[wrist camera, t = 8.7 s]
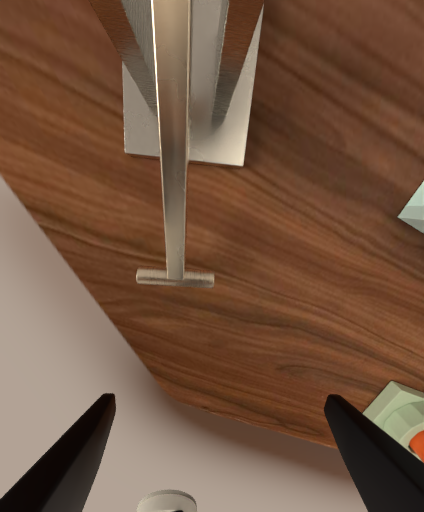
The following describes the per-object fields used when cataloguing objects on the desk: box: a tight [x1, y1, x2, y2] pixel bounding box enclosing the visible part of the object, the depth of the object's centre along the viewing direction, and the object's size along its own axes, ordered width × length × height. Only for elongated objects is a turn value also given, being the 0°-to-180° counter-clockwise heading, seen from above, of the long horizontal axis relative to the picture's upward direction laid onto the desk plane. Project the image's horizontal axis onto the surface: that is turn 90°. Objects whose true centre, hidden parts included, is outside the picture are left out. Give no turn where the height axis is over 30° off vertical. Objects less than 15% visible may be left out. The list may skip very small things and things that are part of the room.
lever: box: [136, 0, 214, 288], centre depth 8 cm, size 16×5×2 cm, turn 175°
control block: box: [362, 381, 424, 461], centre depth 22 cm, size 9×7×3 cm
